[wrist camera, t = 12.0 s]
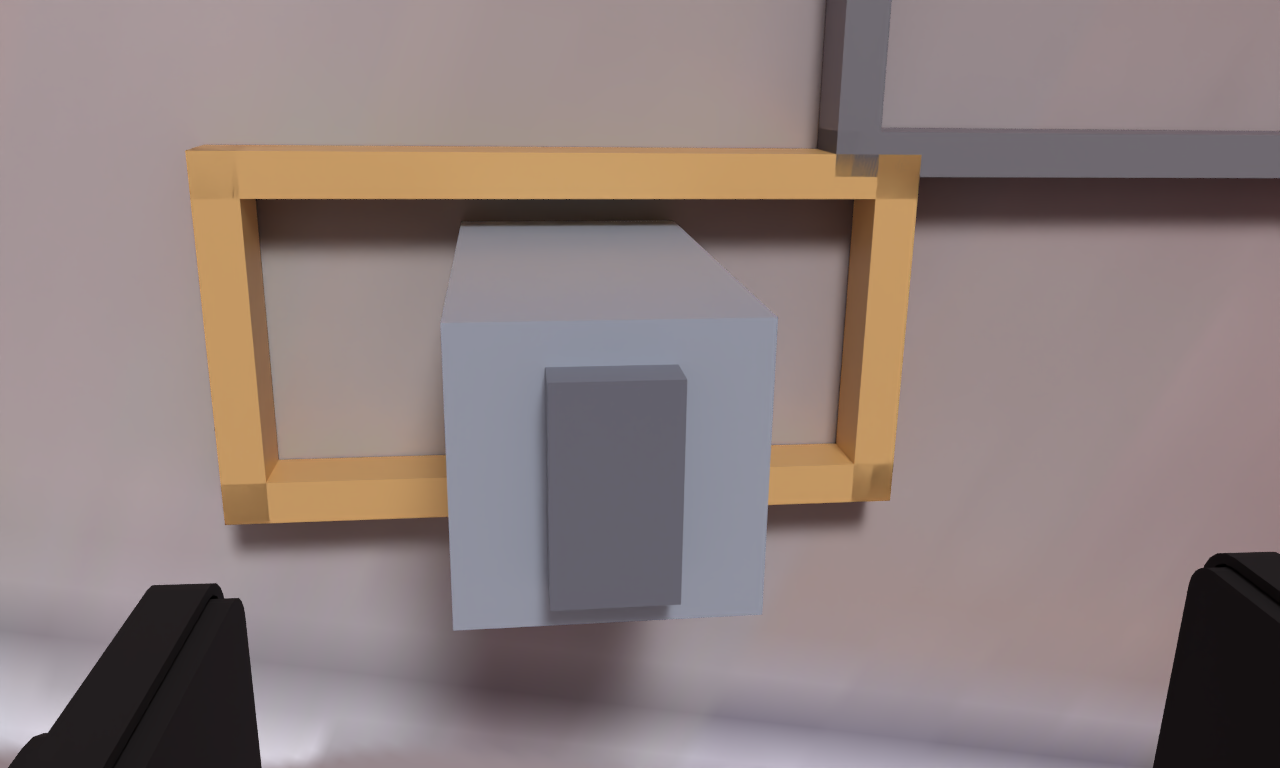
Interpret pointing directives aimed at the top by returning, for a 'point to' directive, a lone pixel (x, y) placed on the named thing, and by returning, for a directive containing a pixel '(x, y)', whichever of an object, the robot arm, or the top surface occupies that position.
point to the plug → (603, 426)
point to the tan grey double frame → (838, 169)
